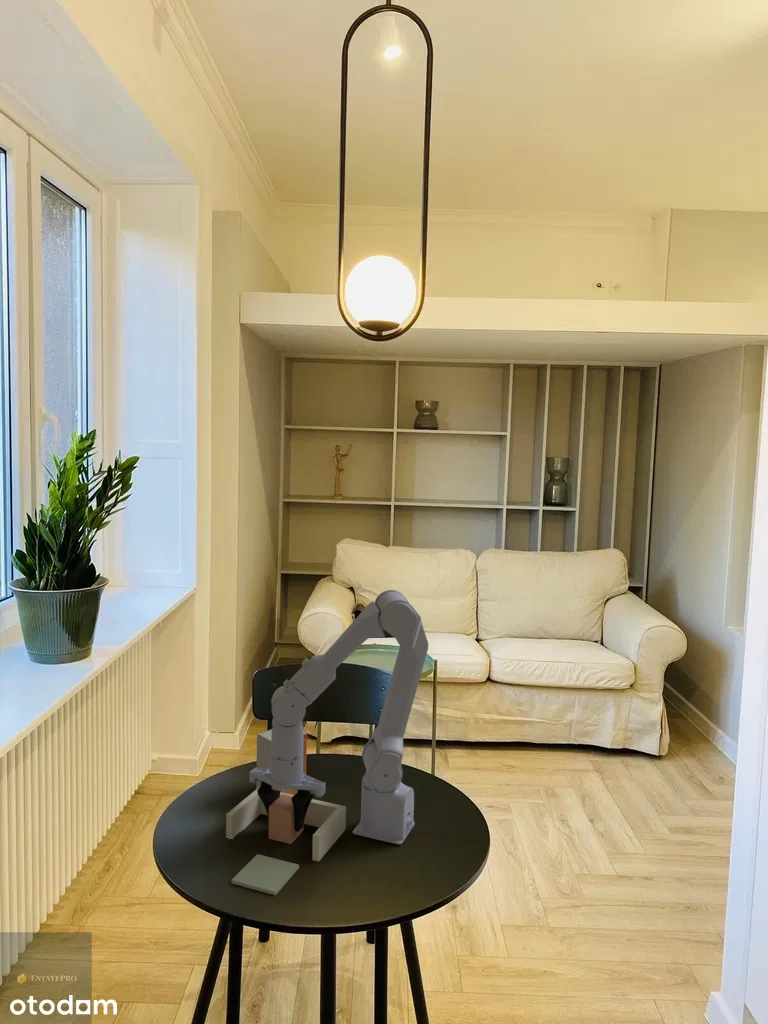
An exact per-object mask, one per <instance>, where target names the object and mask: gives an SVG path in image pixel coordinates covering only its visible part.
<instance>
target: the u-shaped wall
mask: <svg viewBox="0 0 768 1024" xmlns="http://www.w3.org/2000/svg"><path fill="white" fill-rule="evenodd" d="M258 789H259V787H258V788H257V789H255V790H254V791H252V792H251V793H250V794H249V795H247V797H245V798H243V800H242V801H241V802H239V803H238V804H237V805H235V807H233V808H232V809H231V810H229V811H228V812H227V813H226V815H225V818H226V819H225V828H226V829H225V836H226V837H225V838H229V839H228V840H230V839H232V840H233V839H235V838H236V837H237V836H238V835H239V834H240V833H241V832H242V831H243V830H245V829H246V828H247V827H248V826H249V825H250V824H251V823H253V822H254V821H255V820H256V819H257V818H258V817H259V816H260V815H264V816H268V815H267V812H266V809H265V806H264V804H263V802H262V800H261V798H260V797H259V795H258V793H257V790H258ZM282 794H283V795H288V796H294V795H292V794H287V793H282V792H280V796H281V795H282ZM346 814H347V806H346V805H340V804H338V803H337V804H336V803H332V802H327V801H323V800H319V799H314V798H312V800H311V802H310V805H309V807H308V810H307V813H306V816H305V820H304V825H307V826H310V827H311V826H312V827H315V828H318V829H316V831H315V832H314V833H313V834H312V854H311V855H312V858H311V859H312V861H313V862H320V861H321V860H322V859H323V857H324V856H325V855H326V854H327V853H328V852H329V850H330V849H331V848H332V846H334V844H335V843H336V842H337V840H338V839H339V838H340V837H341V836H342V835H343V833H344V832H345V831H346V828H347V827H346V826H347V825H346V821H347V815H346ZM239 832H240V833H239ZM238 833H239V834H238ZM237 834H238V835H237ZM236 835H237V836H236ZM235 836H236V837H235ZM234 837H235V838H234Z"/></svg>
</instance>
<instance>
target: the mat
mask: <svg viewBox="0 0 768 1024" xmlns="http://www.w3.org/2000/svg"><path fill="white" fill-rule="evenodd" d="M299 869H300V864H298V863H294V862H289V861H286V860H281V859H278V858H275V857H270V856H266V855H262V854H258V853H257V854H256V855H255V856H254V857H253V858H252V859H251V860H250V861H248V863H247V864H246V865H244V867H243V868H242V869H241V870H240V871H239V872H238V873H237V874H236V875H235V876H234V877H233V878H232V879H231V884H233V885H237V886H241V887H243V888H247V889H251V890H254V891H258V892H262V893H266V894H268V895H273V896H276V895H277V894H279V892H280V891H281V890H282V888H283V887H284V886H285V885H286V884H287V883H288V881H289V880H290V879H291V878H292V877H293V875H295V873H296V872H297V871H298V870H299Z"/></svg>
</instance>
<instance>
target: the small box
mask: <svg viewBox="0 0 768 1024" xmlns="http://www.w3.org/2000/svg"><path fill="white" fill-rule="evenodd" d="M271 734H272V728H271V729H269V730H266V731H263V732H261V733H257V734H256V768H259V769H271ZM307 742H308V733H307V732H305V731H304V733H303V774H305V775H307V749H308V747H307ZM255 783H256V784H255V785H256V787H255V788H256V789H257V788H258V787H259V788H260V786H261V782H255ZM256 789H255V790H256ZM281 792H282V793H287V794H292V795H295V794H296V793H298V790H293V789H283V790H282V791H281Z"/></svg>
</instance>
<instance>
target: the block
mask: <svg viewBox="0 0 768 1024" xmlns="http://www.w3.org/2000/svg"><path fill="white" fill-rule="evenodd" d="M292 797H293V796H288V795H283V794H282V795H281V796H280V797H279V798H278V799H277V800H276V801H275V802H273V803H272V804H271V805H270V806H269V819H268V839H269V840H271V841H272V840H273V841H277V842H281V843H284V844H289V845H291V844H293V842H295V840H296V839H297V838H298V837H299V836H300V835H301V834H302V833H303V832H304V831H305V830H304V829H305V827H304V826H305V824H304V825H303V827H302V828H301V830H300V831H299V832H297V831H295V828H294V808H293V803H292V800H291V799H292Z"/></svg>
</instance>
